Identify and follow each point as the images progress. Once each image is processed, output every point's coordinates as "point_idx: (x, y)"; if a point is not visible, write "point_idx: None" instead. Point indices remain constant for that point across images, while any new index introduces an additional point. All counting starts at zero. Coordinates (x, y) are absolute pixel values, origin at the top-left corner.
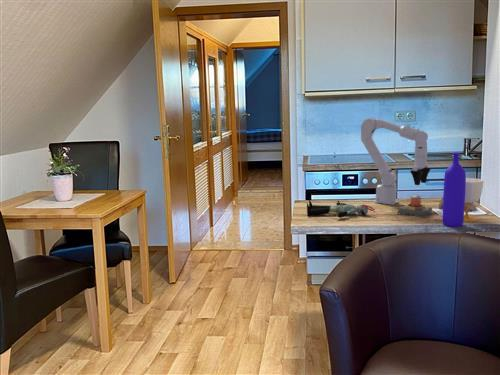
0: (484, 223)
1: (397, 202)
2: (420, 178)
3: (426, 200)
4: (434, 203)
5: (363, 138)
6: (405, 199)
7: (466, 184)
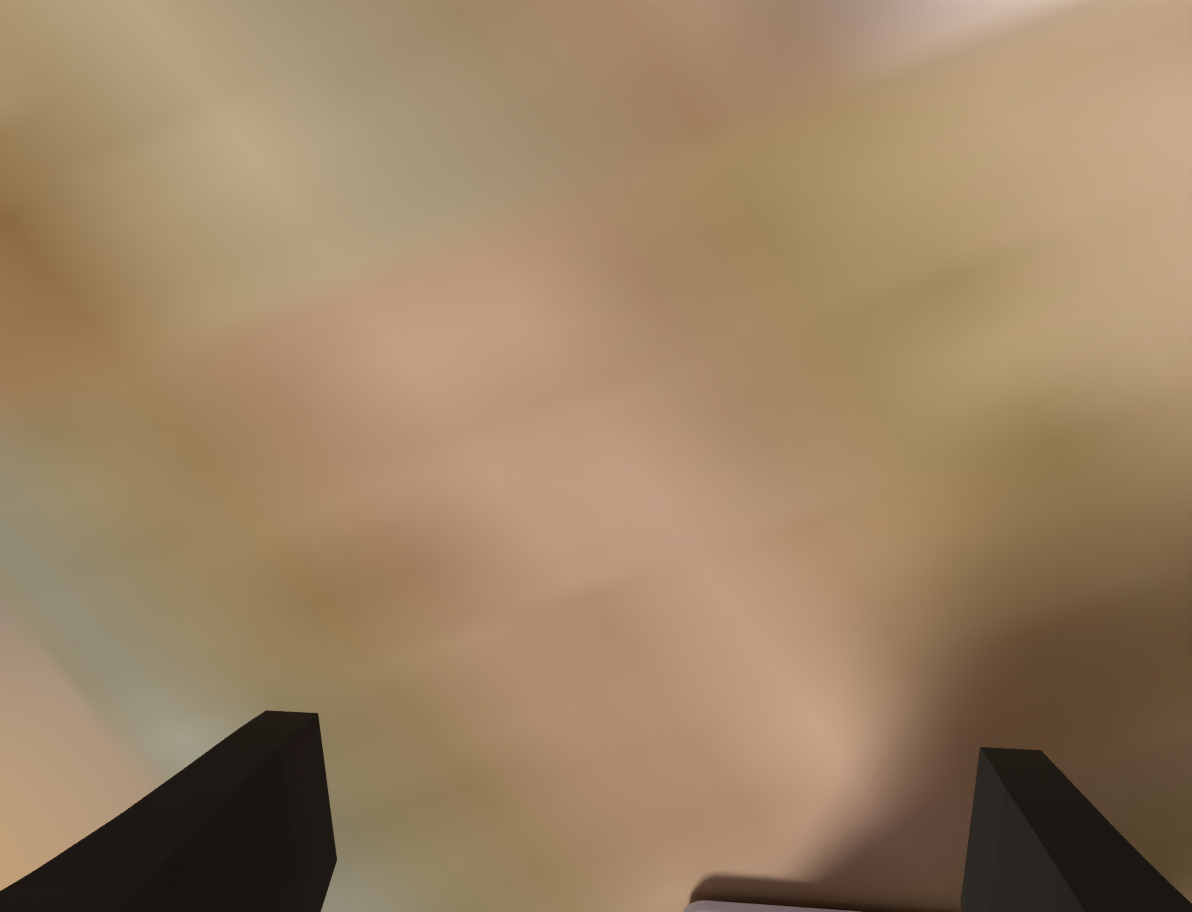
0: None
1: (787, 908)
2: None
3: (112, 505)
4: (308, 220)
5: None
6: None
7: None
